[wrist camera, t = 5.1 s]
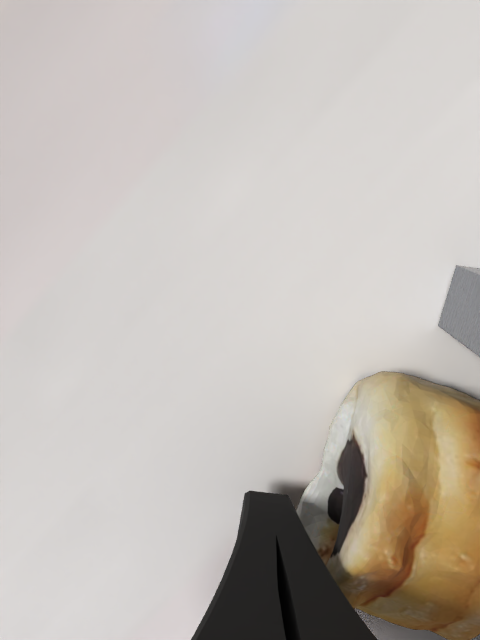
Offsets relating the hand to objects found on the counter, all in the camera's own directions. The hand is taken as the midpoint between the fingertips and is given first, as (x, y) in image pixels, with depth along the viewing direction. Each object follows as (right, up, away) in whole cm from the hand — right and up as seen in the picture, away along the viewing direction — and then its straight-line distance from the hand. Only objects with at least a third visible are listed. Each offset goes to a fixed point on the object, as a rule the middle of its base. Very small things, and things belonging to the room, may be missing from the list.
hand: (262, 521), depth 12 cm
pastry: (+5, +1, +1) cm, 5 cm away
